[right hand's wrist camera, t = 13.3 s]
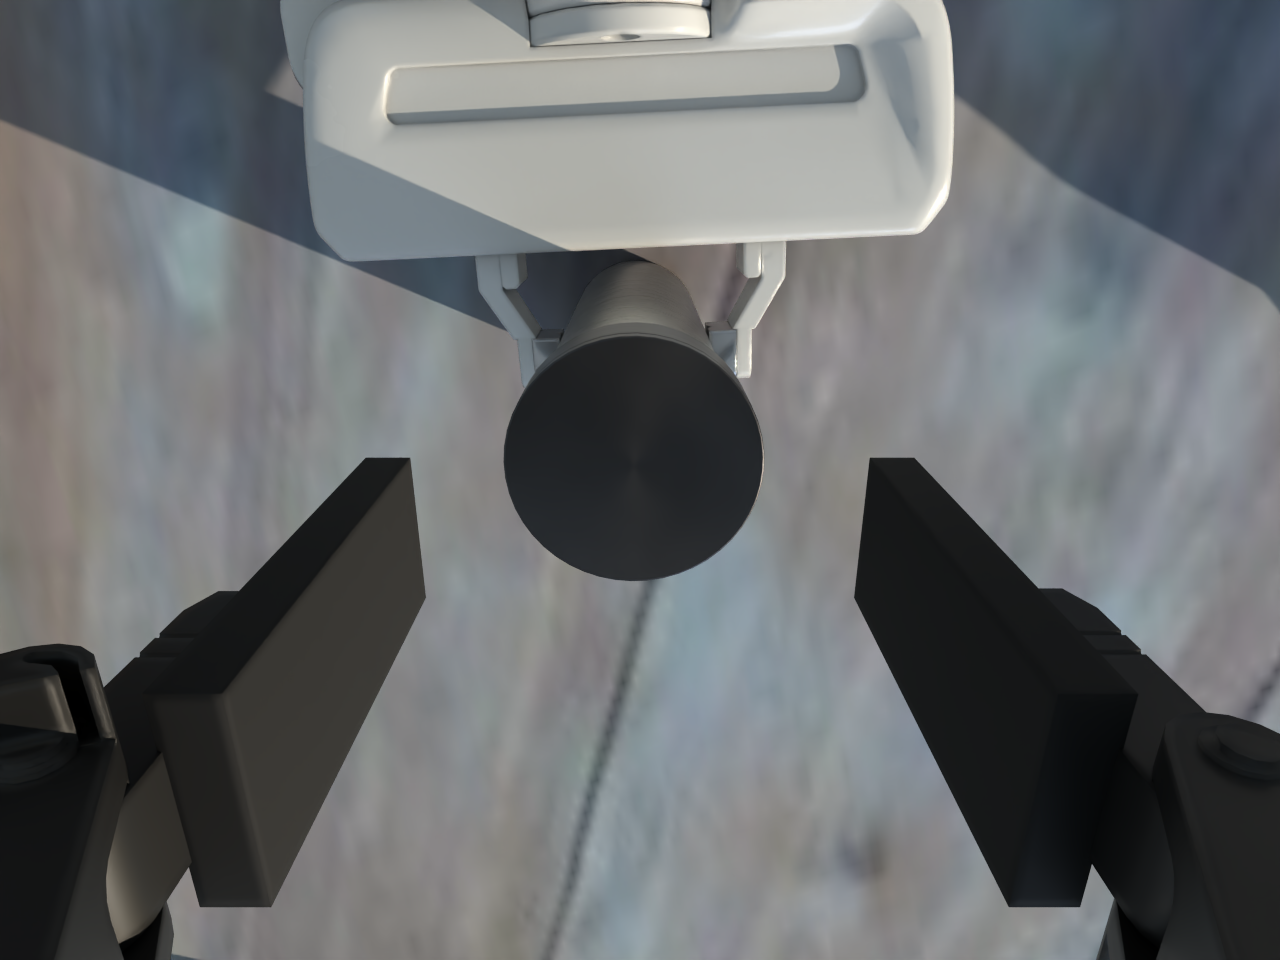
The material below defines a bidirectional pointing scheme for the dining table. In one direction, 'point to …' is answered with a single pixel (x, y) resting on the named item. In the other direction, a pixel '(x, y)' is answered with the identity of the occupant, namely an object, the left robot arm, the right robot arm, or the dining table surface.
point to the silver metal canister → (636, 301)
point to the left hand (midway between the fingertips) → (637, 379)
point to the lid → (634, 452)
